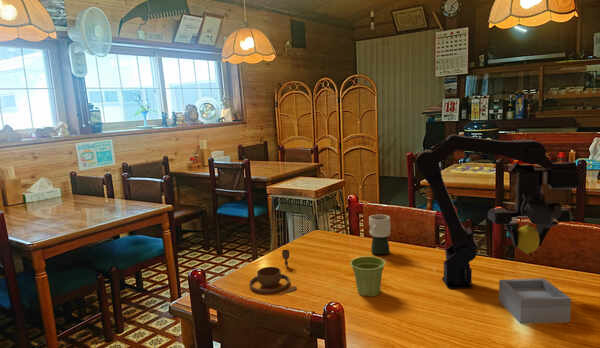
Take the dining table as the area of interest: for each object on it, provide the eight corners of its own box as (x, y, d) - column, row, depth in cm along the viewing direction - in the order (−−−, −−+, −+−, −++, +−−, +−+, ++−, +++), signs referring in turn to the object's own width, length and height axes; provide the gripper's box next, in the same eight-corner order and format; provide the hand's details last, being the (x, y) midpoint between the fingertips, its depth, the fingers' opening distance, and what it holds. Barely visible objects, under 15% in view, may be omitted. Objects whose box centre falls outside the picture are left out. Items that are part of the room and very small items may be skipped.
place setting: (236, 284, 124) (234, 266, 123) (286, 265, 137) (284, 248, 136) (272, 302, 111) (270, 282, 110) (323, 279, 124) (322, 260, 123)
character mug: (376, 246, 148) (375, 212, 146) (395, 249, 144) (394, 214, 142) (364, 256, 139) (363, 220, 137) (384, 259, 135) (383, 222, 133)
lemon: (542, 257, 105) (543, 227, 103) (518, 257, 106) (519, 227, 105) (534, 250, 110) (535, 221, 109) (512, 250, 111) (513, 221, 110)
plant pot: (365, 303, 106) (364, 271, 105) (345, 290, 115) (343, 260, 113) (393, 294, 111) (392, 263, 109) (371, 282, 119) (370, 253, 118)
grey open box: (520, 324, 93) (521, 300, 92) (498, 302, 104) (499, 279, 103) (569, 323, 92) (571, 298, 91) (543, 300, 103) (544, 278, 102)
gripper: (505, 196, 98) (503, 258, 100) (586, 193, 96) (582, 256, 99) (487, 187, 109) (486, 243, 111) (560, 185, 107) (557, 241, 110)
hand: (527, 246), depth 108 cm, fingers closed on lemon, 5 cm apart
